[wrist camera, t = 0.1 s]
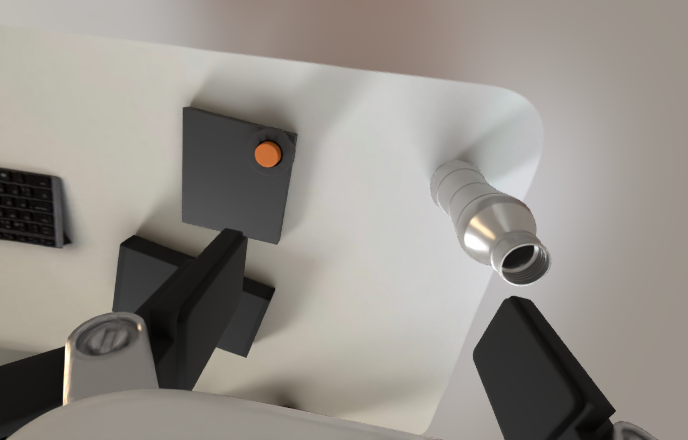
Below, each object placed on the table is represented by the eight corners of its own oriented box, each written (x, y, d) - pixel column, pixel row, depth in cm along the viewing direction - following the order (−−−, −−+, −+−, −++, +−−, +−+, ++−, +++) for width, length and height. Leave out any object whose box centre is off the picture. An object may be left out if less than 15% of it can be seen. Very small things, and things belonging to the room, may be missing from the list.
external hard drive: (251, 344, 55) (246, 358, 52) (124, 299, 52) (111, 311, 49) (275, 288, 49) (270, 300, 46) (134, 234, 46) (119, 243, 43)
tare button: (260, 138, 36) (256, 141, 35) (282, 144, 36) (279, 147, 35) (257, 161, 37) (253, 164, 36) (279, 166, 37) (276, 169, 36)
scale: (188, 103, 37) (175, 105, 35) (300, 132, 38) (296, 136, 35) (187, 218, 44) (175, 227, 42) (282, 240, 45) (276, 251, 42)
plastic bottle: (433, 210, 42) (486, 311, 23) (421, 165, 39) (470, 238, 21) (480, 196, 40) (576, 291, 22) (471, 148, 38) (571, 211, 20)
